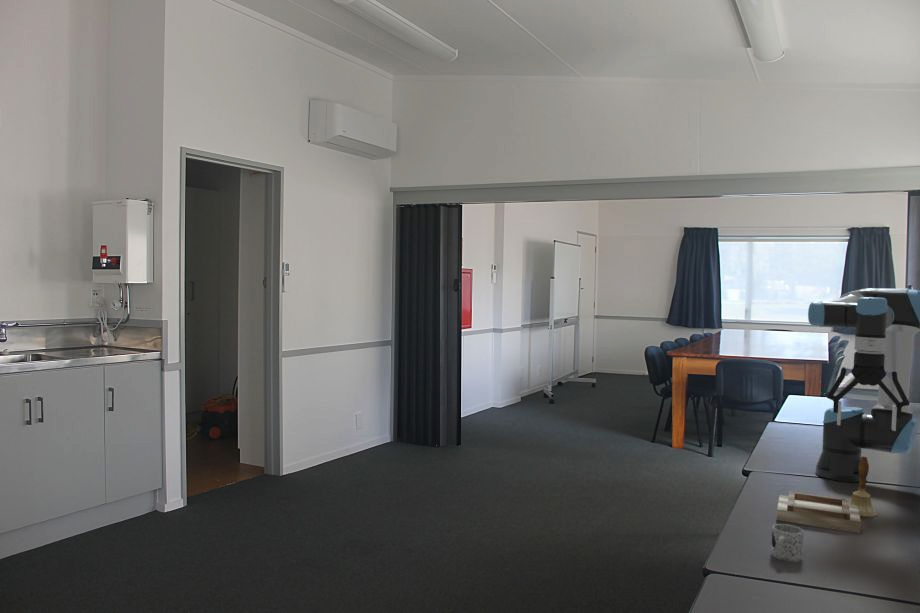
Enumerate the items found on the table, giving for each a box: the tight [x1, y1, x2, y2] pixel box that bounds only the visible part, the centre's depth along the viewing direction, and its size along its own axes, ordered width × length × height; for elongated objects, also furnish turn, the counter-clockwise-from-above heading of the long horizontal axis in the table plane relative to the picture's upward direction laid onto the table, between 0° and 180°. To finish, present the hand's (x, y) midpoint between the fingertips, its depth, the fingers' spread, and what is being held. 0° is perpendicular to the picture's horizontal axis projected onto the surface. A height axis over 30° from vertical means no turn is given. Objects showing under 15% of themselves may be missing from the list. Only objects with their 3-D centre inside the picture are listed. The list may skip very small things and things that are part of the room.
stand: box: [776, 490, 862, 534], centre depth 202 cm, size 15×20×4 cm
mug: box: [770, 523, 804, 563], centre depth 172 cm, size 10×7×7 cm
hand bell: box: [848, 456, 878, 518], centre depth 208 cm, size 8×8×16 cm
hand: (865, 427), depth 207 cm, fingers open, 13 cm apart
